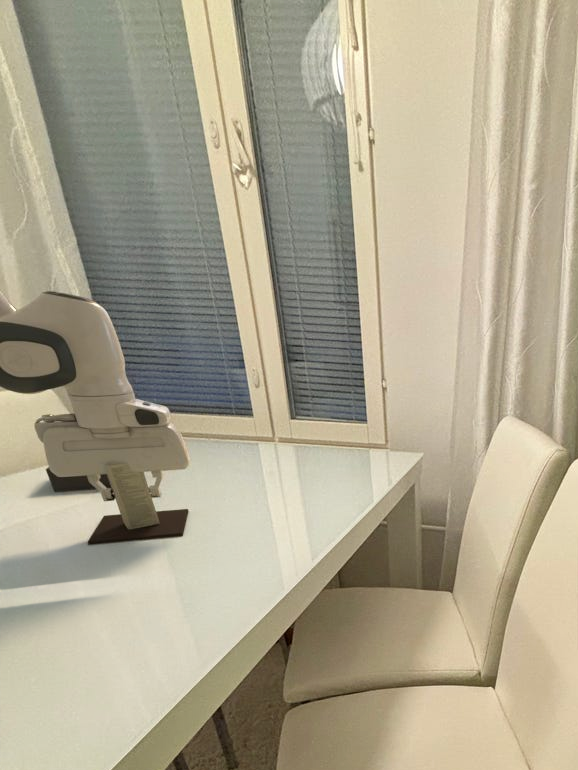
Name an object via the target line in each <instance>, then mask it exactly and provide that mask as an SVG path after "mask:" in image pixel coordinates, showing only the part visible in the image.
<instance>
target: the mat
mask: <svg viewBox="0 0 578 770" xmlns="http://www.w3.org/2000/svg"><path fill="white" fill-rule="evenodd" d="M189 512H190V511H189V508H181V509H170V510H156V513H157V516H158V519H159V524H155V525H151V526H145V527H141V528H135V529H130V530H129V529H128V528H127V527H126V526H125V524H124V522H123V519H122V516H121V514H120V513H119V514H107V515H103V516H102V518H101V520H100V521H99V522H98V525H97V526H96V527H95V529H94V531H93V533H92V534H91V536H90V537H89V539H88V540H87V544H88V545H89V546H90V545H100V544H110V543H119V542H130V541H140V540H151V539H162V538H172V537H173V538H174V537H182V536H184V533H185V529H186V524H187V520H188V516H189Z"/></svg>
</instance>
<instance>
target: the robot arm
mask: <svg viewBox="0 0 578 770" xmlns="http://www.w3.org/2000/svg"><path fill="white" fill-rule="evenodd" d="M0 388H2V389H4V390H6V391H9V392H13V393H17V394H23V395H36V394H40V393H41V394H42V393H43V392H44V393H45V392H46V391H48V390H52V389H57V388H63V389H65V391H66V394H67V396H68V399H69V402H70V406H71V408H72V411H73V413H61V414H43V415H41V417H39V418H36V420H35V422H34V425H33V426H34V430H35V433H36V435H37V438H38V439H39V441H40V442H41V443H42V444H43V448H44V453H45V458H46V461H47V462H46V463H47V465H48V467H49V468H50V471H51V472H52V473H54V474H55V475H56V476H58V477H68V476H84V475H87V478H88V480H89V482H90V483H91V484H92V485H93V486H94V487H95V488H96V489H95V490H97V491H98V492H100V495H101V497H102V500H103V502H115V500H116V499H115V496H114V493H113V490H112V488H106V487H105V486H104V485H103V484H102V483H101V482H100V481H99V479H100V478H101V476H100V474H108V472H107V469H106V466H105V465H106V464H108V463H129V467H130V469H131V470H132V471H134V472H144V473H148V472H150V473H151V475H152V478H153V479H155V478H156V479H155V482H154V484H151V485H148V488H149V491H150V494H151V497H152V499H154V498H161V497H162V490H161V487H160V485H161V482H162V480H163V477H164V471H180V470H181V471H182V470H186V469H187V468H188V467H189V465H190V464H191V458H190V457H191V456H190V454H189V450H188V448H187V444H186V442H185V439H184V437H183V435H182V432H181V430H180V429H179V427H178V426H177V425H176V424H175V423H173V422H171V419H172V414H171V410H170V409H169V408H168V407H167V406H165V405H162V404H158V403H153V402H149V401H146V400H142V399H138V398H136V395H135V393H134V388H133V387H132V384H131V383H130V382H129V380H128V377H127V375H126V360H125V357H124V353H123V349H122V347H121V343H120V340H119V337H118V334H117V331H116V329H115V327H114V324H113V321H112V319H111V317H110V316H109V313H108V312H107V310H106V309H105V308H104V307H102V305H101V304H99V303H97V302H96V301H94V300H93V299H90V298H88V297H85V296H79V295H74V294H69V293H65V292H57V291H53V290H52V291H51V290H46V291H42V292H41V293H40V294H39V296H38V297H36V299H34V300H32V301H30V303H28V304H26V305H25V306H23V307H21V308H19V309H17V308H16V307H15V305H13V304H12V303H11V302H10V300H9V299H8V298H7V297H6V295H5V294H4V293H3V291H2V290H1V289H0ZM41 421H42V422H41Z"/></svg>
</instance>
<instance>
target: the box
mask: <svg viewBox="0 0 578 770" xmlns="http://www.w3.org/2000/svg"><path fill="white" fill-rule="evenodd" d="M105 466H106V469H107V472H108V474H107V476H108V479H109V482H110V485H111V488H112V490H113V494H114V496H115V499H114V500H115V502H116V504H117V508H118V511H119V514H121V516H122V519H123V522H124V524H125V526H126V527H127V528H128V529H129V530H130V529H135V528H141V527H145V526H151V525H155V524H159V519H158V516H157V513H156V511H157V509H156V507H155V504H154V501H153V498H152V497H151V493H150V491H149V485H148V481H147V479H146V475H145V472H134V471H132V470H131V469H130V467H129V463H108V464H106V465H105Z"/></svg>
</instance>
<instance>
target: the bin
mask: <svg viewBox="0 0 578 770" xmlns="http://www.w3.org/2000/svg"><path fill="white" fill-rule="evenodd" d="M45 471H46V474H47V476H48V477H47V478H48V480H49V482H50V484H51V488H52V491H53V492H54V493H55V492H56V493H58V492H72V491H85V490H97V489H96V488H95V487H94V486H93V485H92V484H91V483H90V482H89V480H88V478H87V475H84V476H68V477H58V476H56V475H55V474H54V473H52V472H51V471H50V468H49V466H48V467H47V468H45ZM100 476H101V478H100V479H99V481H100V482H101V483H102V484H103V485H104V486H105V487H106V488H111V485H110V482H109V479H108V476H107V474H100Z"/></svg>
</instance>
